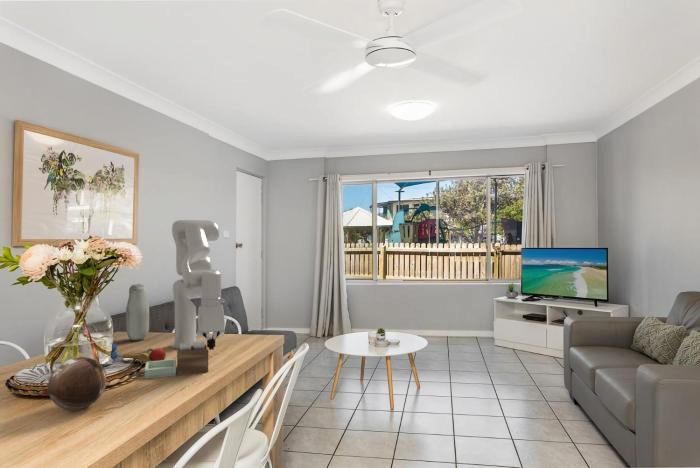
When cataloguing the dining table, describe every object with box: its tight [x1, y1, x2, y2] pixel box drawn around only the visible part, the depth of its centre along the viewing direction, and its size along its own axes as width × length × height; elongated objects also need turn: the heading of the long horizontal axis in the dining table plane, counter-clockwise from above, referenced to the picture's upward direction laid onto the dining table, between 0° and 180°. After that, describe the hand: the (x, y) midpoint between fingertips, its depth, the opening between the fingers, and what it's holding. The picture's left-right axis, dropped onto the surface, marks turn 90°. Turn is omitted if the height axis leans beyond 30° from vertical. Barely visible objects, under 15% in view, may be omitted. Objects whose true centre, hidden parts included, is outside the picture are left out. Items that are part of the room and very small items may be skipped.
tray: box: [144, 358, 177, 380], centre depth 168 cm, size 12×11×3 cm
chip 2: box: [193, 340, 206, 350], centre depth 174 cm, size 4×4×4 cm
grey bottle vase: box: [125, 283, 150, 341], centre depth 223 cm, size 10×10×28 cm
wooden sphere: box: [47, 356, 108, 411], centre depth 133 cm, size 15×15×15 cm
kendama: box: [122, 347, 167, 366], centre depth 182 cm, size 8×6×18 cm
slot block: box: [176, 343, 209, 376], centre depth 173 cm, size 12×11×8 cm
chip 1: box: [180, 342, 191, 351], centre depth 172 cm, size 4×4×4 cm
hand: (211, 348), depth 175 cm, fingers closed
